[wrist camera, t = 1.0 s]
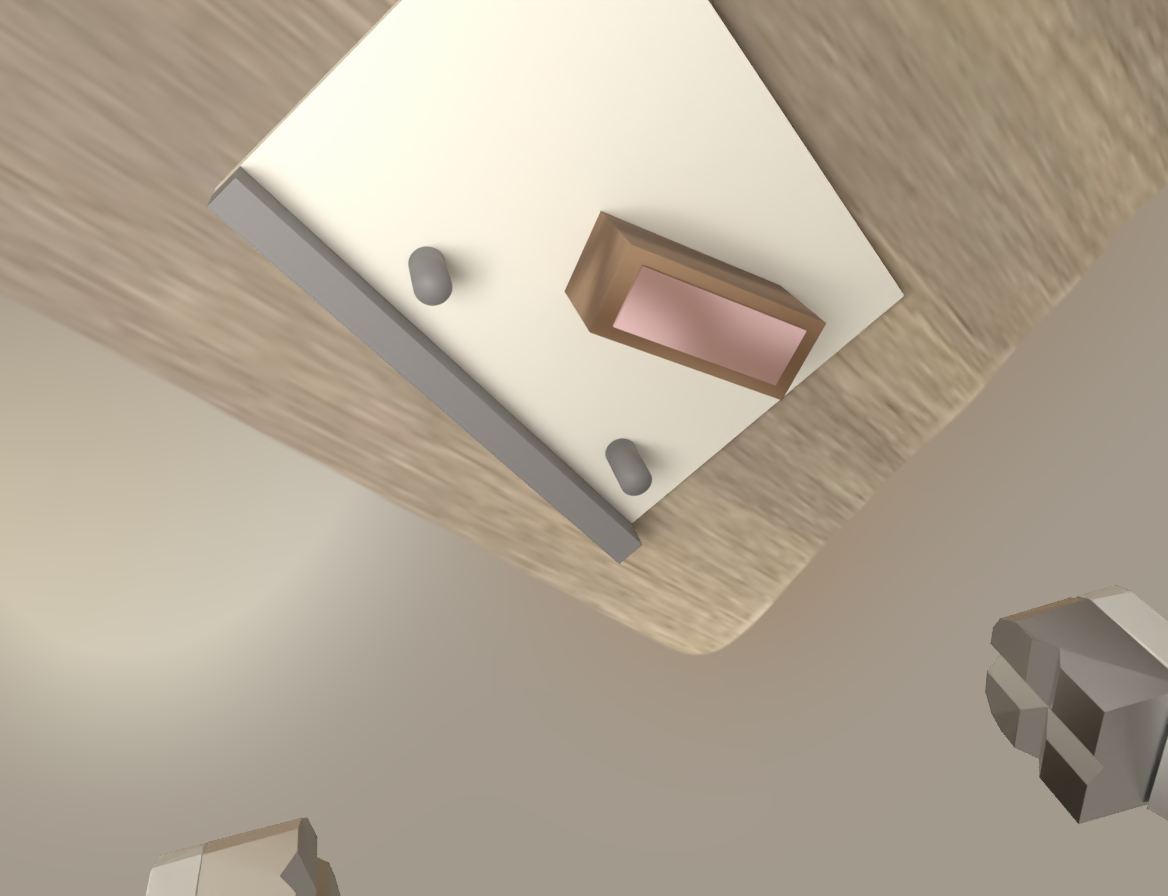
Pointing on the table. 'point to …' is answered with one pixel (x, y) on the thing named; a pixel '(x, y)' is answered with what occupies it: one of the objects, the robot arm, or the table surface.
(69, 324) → the table surface
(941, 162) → the table surface
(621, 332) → the wooden block
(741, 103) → the board
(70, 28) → the table surface
